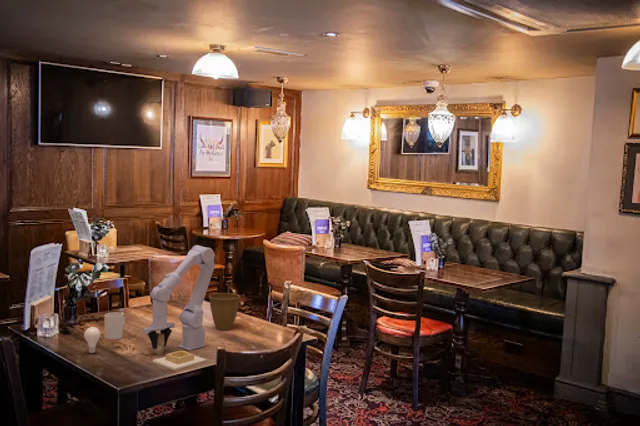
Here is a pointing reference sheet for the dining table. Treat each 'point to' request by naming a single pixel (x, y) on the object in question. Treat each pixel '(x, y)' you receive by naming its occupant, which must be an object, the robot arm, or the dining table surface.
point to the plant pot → (224, 309)
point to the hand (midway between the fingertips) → (159, 347)
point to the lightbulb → (92, 338)
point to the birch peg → (160, 344)
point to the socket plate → (179, 360)
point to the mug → (114, 325)
